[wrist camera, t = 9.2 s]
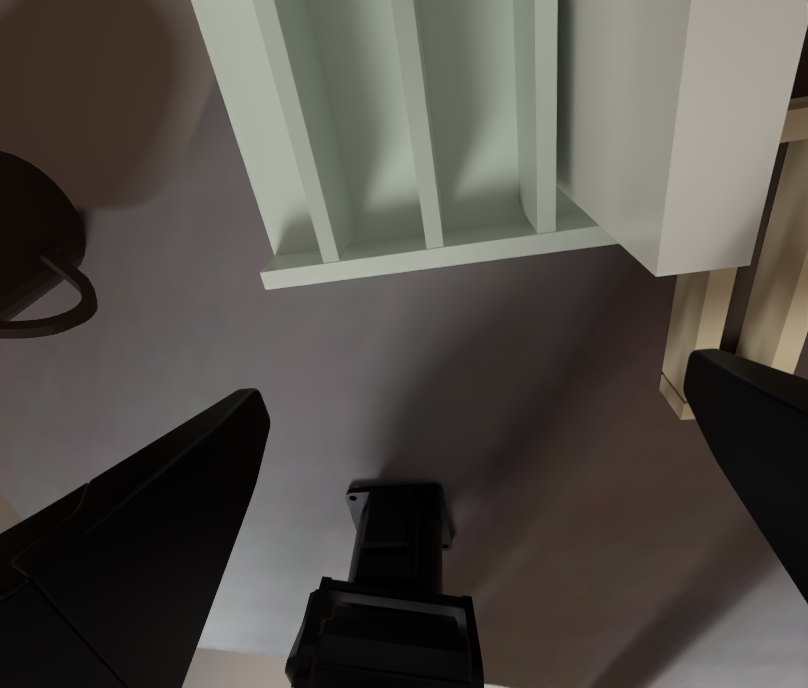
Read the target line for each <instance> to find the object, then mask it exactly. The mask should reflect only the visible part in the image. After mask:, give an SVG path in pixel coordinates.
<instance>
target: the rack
mask: <svg viewBox="0 0 808 688" xmlns="http://www.w3.org/2000/svg"><path fill="white" fill-rule="evenodd" d="M191 2H192V5H193V8H194V11H195V14H196V17H197V20H198V23H199V26H200V29H201V32H202V35H203V38H204V41H205V44H206V47H207V50H208V53H209V57H210V59H211V63H212V66H213V69H214V72H215V75H216V78H217V81H218V84H219V87H220V90H221V93H222V96H223V99H224V102H225V105H226V109H227V112H228V115H229V118H230V121H231V124H232V127H233V130H234V133H235V136H236V139H237V142H238V145H239V148H240V151H241V154H242V157H243V160H244V163H245V166H246V170H247V173H248V176H249V179H250V182H251V185H252V188H253V191H254V194H255V197H256V200H257V203H258V206H259V209H260V212H261V215H262V218H263V221H264V224H265V228H266V231H267V234H268V237H269V240H270V243H271V246H272V249H273V252H274V255H275V257H274V258H273V259H272V260H271V261H270V262H269V263H268V264H267V266H266V267H265V268H264V269H263V270H262V271H261V272H260V275H261V278H262V281H263V283H264V286H265V289H266V290H269V289H277V288H284V287H292V286H300V285H307V284H315V283H322V282H330V281H338V280H345V279H353V278H361V277H368V276H376V275H384V274H391V273H399V272H406V271H414V270H422V269H429V268H437V267H445V266H452V265H460V264H468V263H475V262H483V261H490V260H498V259H506V258H513V257H521V256H529V255H536V254H544V253H552V252H559V251H567V250H574V249H582V248H590V247H597V246H605V245H613V244H619V243H618V242H617V241H616V240H615V239H614V238H613V237H612V236H611V235H609V234H608V233H607V232H606V231H605V230H604V229H603V228H602V227H601V226H600V225H598V224H597V223H596V222H595V221H594V220H593V219H592V218H591V217H590V216H589V215H588V214H586V213H585V212H584V211H583V210H582V209H581V208H580V207H579V206H578V205H577V204H575V203H574V202H573V201H572V200H571V199H570V198H569V197H568V196H567V195H566V194H564V193H563V192H562V191H561V190H560V189H559V188H558V187H557V186H556V141H557V25H558V0H191Z"/></svg>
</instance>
